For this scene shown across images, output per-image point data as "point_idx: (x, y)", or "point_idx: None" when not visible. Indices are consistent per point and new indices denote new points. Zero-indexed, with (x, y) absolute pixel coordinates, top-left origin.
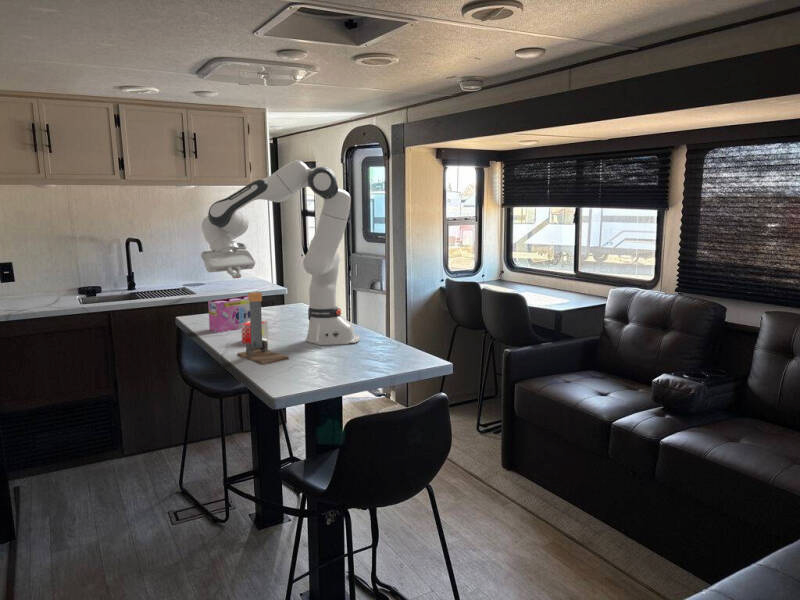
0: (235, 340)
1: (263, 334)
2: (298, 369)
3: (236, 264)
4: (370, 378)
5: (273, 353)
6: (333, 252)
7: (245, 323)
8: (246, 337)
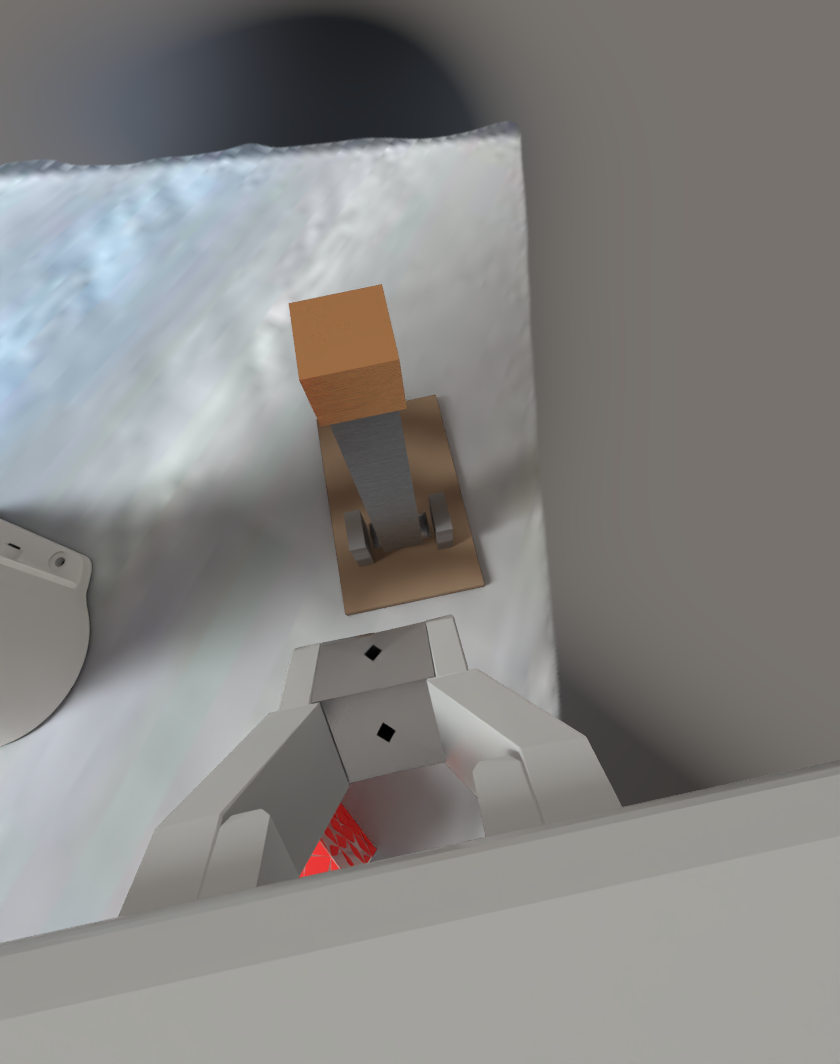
0: None
1: None
2: None
3: (223, 913)
4: (229, 162)
5: (344, 495)
6: None
7: None
8: (349, 831)
